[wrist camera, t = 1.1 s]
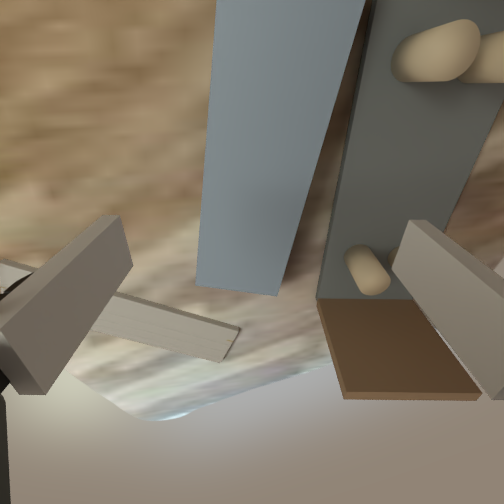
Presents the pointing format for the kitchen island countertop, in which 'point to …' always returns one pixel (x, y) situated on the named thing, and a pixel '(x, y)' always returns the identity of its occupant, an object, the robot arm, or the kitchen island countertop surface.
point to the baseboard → (149, 321)
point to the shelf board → (266, 131)
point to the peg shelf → (405, 188)
